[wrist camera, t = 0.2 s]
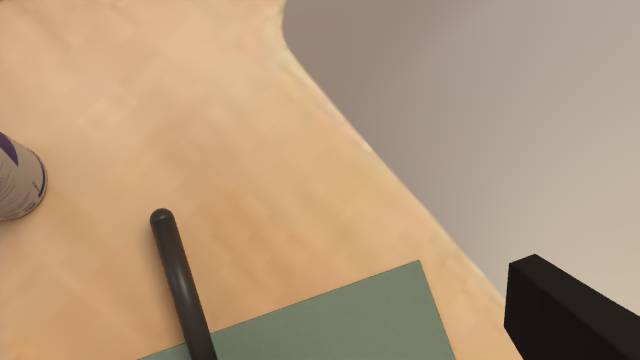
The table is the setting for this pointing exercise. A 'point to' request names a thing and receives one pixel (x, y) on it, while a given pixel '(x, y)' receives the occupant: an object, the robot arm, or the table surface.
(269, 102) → the table surface
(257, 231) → the table surface
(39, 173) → the energy drink
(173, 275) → the pan handle
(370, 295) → the desk mat
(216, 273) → the table surface
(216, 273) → the table surface
